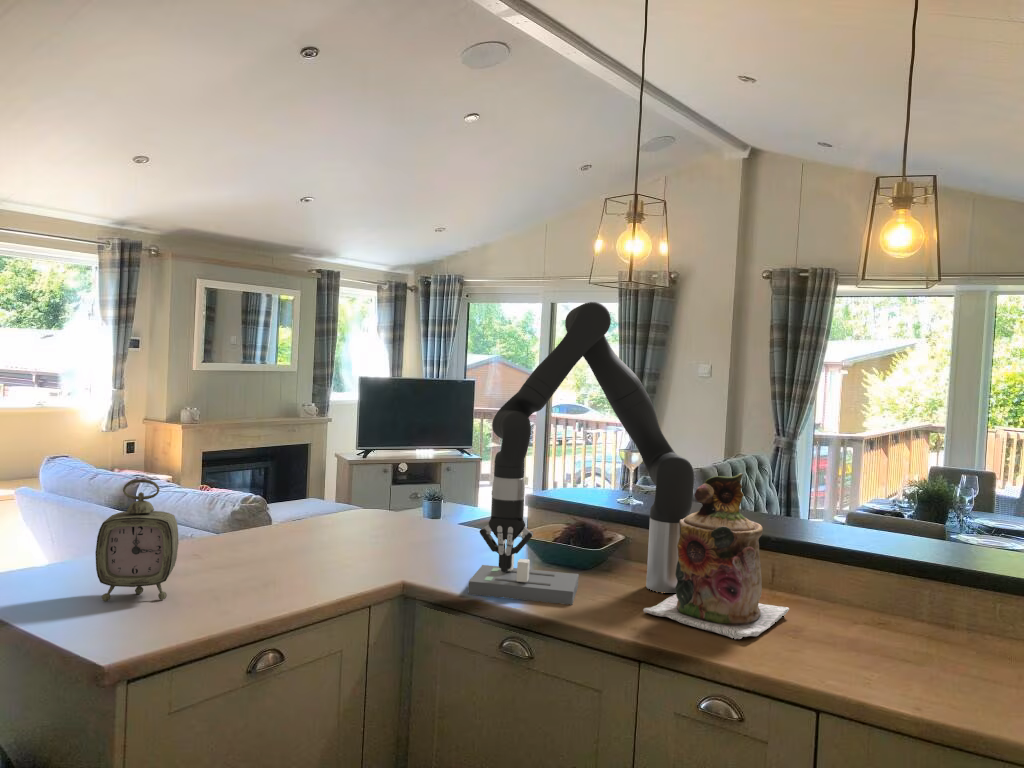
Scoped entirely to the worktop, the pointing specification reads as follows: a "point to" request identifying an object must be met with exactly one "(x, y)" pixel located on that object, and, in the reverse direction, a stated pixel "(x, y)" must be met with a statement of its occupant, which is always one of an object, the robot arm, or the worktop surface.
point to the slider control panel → (524, 585)
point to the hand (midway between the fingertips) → (504, 570)
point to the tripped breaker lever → (523, 570)
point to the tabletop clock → (137, 546)
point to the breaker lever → (512, 563)
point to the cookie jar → (719, 567)
